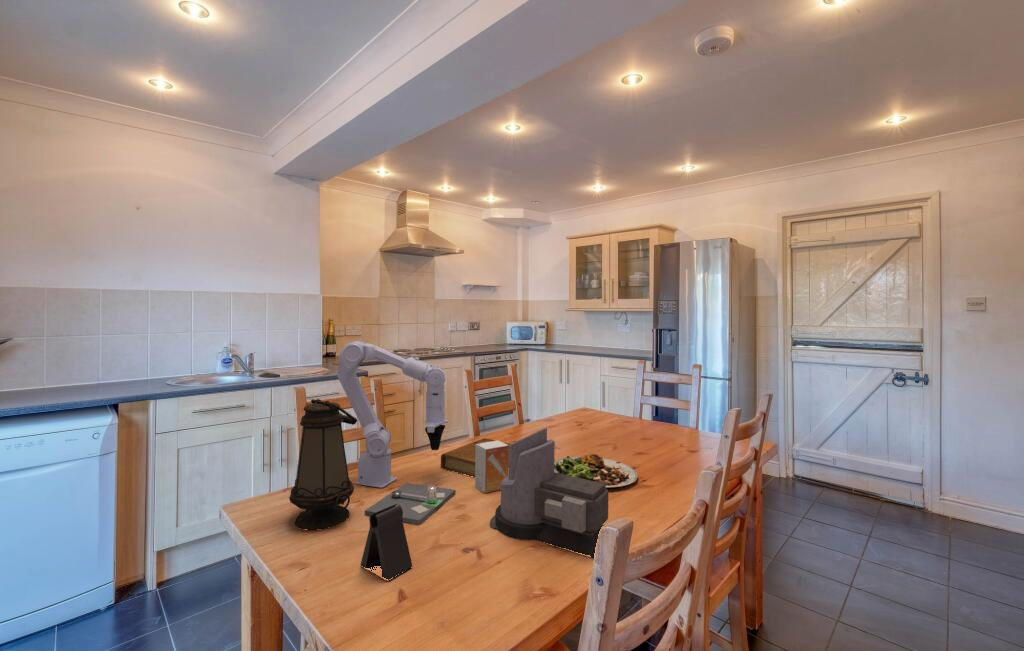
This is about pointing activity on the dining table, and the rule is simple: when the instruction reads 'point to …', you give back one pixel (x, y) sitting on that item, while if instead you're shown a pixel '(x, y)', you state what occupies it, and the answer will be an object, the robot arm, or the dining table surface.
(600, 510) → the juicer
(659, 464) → the dining table surface
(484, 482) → the small box
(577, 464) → the plate of food
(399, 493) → the metal crank handle
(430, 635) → the dining table surface
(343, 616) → the dining table surface
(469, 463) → the diary
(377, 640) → the dining table surface
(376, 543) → the black tent sign
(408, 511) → the dial board
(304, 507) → the lantern
